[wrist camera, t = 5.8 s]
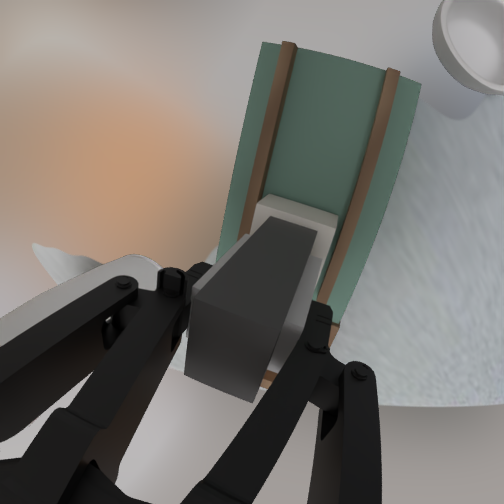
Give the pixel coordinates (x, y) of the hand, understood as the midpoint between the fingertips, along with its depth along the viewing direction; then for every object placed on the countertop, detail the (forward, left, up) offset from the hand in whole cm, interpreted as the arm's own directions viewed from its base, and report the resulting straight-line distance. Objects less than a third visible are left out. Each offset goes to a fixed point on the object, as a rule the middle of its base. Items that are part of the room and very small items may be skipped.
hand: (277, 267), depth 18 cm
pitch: (0, -4, -8) cm, 9 cm away
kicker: (0, 0, -5) cm, 5 cm away
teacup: (-10, -19, -9) cm, 23 cm away
